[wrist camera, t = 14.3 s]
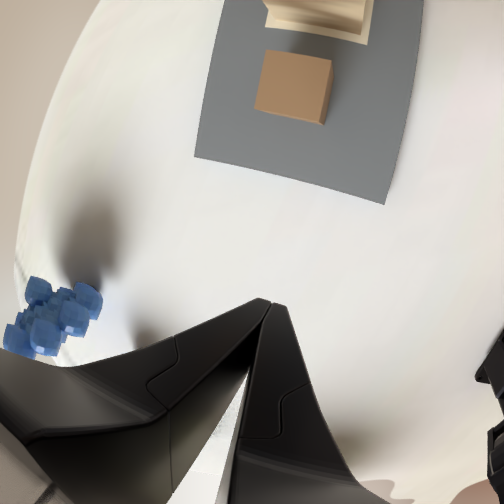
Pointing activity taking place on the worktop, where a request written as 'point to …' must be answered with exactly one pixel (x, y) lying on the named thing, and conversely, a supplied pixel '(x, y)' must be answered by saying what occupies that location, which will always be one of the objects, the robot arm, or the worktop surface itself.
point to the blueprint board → (351, 106)
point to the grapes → (51, 318)
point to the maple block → (320, 13)
